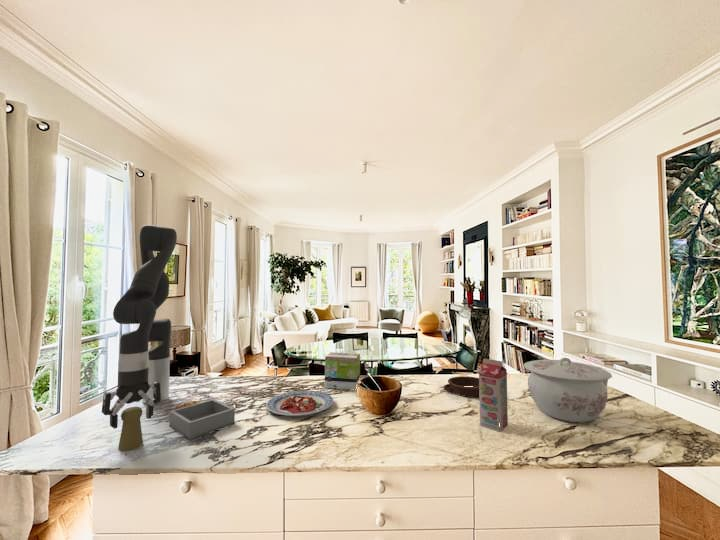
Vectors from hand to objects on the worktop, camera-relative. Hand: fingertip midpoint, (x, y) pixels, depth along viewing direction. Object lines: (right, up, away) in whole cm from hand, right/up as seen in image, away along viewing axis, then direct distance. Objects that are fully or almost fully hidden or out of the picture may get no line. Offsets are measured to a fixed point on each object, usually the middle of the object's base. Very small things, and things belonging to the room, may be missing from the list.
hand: (132, 422), depth 96 cm
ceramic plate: (+44, -9, +31) cm, 54 cm away
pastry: (+3, -8, +25) cm, 26 cm away
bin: (+14, -7, +14) cm, 21 cm away
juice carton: (+113, -8, +13) cm, 114 cm away
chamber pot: (+143, -8, +22) cm, 145 cm away
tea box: (+59, -9, +56) cm, 82 cm away
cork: (0, -7, 0) cm, 7 cm away
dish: (+116, -9, +47) cm, 125 cm away
